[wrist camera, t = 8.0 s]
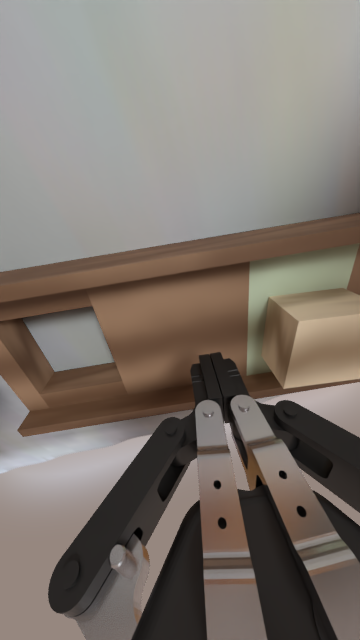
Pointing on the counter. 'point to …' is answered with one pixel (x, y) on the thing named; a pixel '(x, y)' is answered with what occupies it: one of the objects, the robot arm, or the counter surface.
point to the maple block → (313, 337)
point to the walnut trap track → (166, 318)
